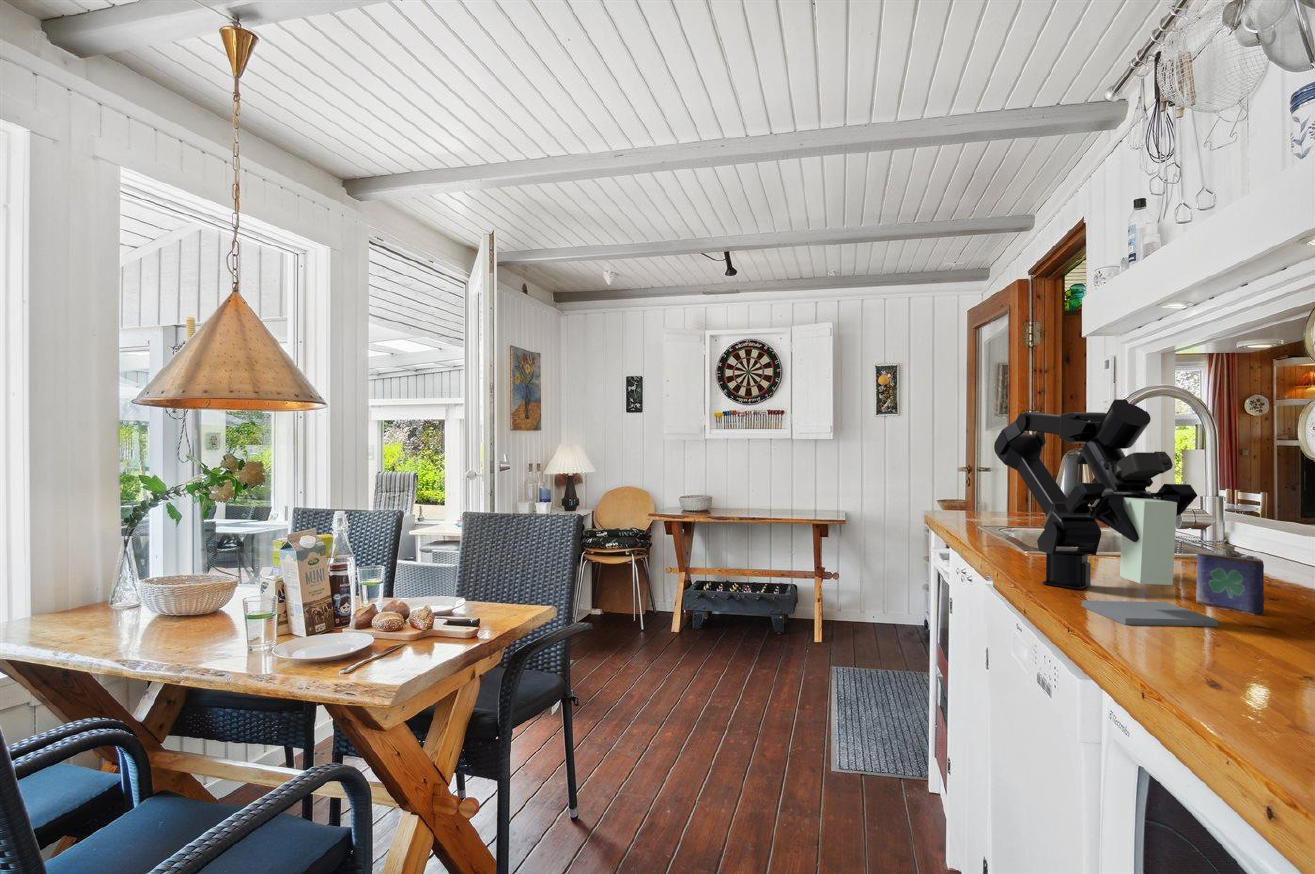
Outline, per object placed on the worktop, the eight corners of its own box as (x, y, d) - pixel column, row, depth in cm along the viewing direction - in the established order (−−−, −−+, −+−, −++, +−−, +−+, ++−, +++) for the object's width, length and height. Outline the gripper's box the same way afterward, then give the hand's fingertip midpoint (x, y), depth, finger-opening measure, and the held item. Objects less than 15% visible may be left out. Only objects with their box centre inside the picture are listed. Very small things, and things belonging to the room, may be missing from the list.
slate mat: (1081, 606, 116) (1081, 600, 116) (1165, 607, 116) (1165, 601, 116) (1125, 624, 105) (1125, 618, 105) (1218, 626, 105) (1218, 619, 105)
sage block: (1119, 576, 113) (1123, 497, 113) (1150, 577, 113) (1154, 498, 112) (1140, 583, 108) (1144, 501, 108) (1172, 584, 108) (1177, 502, 107)
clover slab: (1193, 603, 119) (1194, 541, 119) (1201, 601, 120) (1203, 540, 120) (1259, 616, 111) (1261, 550, 111) (1267, 614, 112) (1269, 549, 112)
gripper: (1076, 434, 114) (1118, 508, 103) (1190, 435, 114) (1244, 510, 103) (1049, 477, 122) (1085, 551, 111) (1155, 479, 122) (1202, 552, 111)
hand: (1153, 540), depth 109 cm, fingers closed on sage block, 5 cm apart
